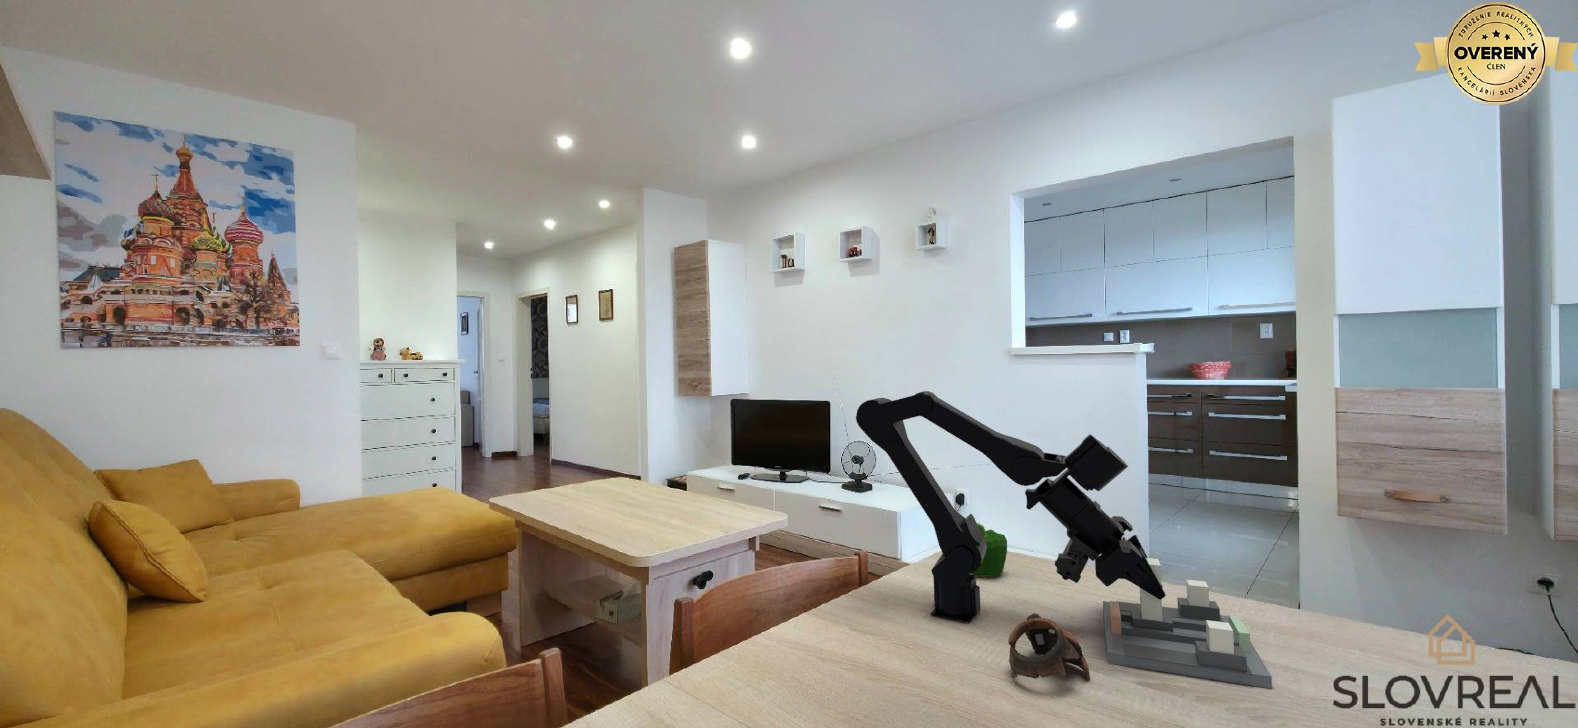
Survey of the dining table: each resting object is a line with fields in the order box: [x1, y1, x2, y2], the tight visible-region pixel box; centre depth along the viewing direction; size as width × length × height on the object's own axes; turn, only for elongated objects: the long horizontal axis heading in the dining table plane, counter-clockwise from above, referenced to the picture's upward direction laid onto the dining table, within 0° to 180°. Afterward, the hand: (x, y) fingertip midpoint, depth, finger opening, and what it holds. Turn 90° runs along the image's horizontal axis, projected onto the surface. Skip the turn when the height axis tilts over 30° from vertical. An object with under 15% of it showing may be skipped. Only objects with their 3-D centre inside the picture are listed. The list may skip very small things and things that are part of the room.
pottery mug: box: [1008, 613, 1091, 681], centre depth 82 cm, size 12×10×8 cm
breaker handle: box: [1131, 557, 1173, 632], centre depth 90 cm, size 5×4×10 cm
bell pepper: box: [970, 522, 1008, 578], centre depth 120 cm, size 8×8×10 cm
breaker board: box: [1102, 579, 1273, 689], centre depth 88 cm, size 18×20×6 cm
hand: (1161, 593), depth 89 cm, fingers closed on breaker handle, 3 cm apart
